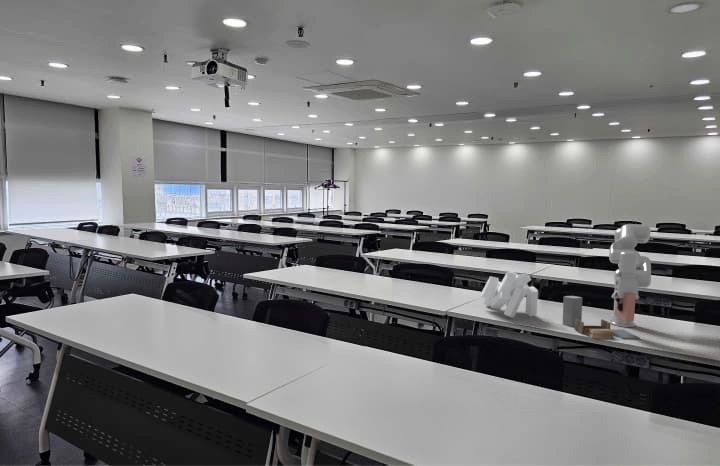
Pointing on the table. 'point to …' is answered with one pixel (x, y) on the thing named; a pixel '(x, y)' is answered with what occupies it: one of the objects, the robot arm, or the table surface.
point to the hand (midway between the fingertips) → (624, 310)
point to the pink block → (626, 307)
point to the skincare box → (572, 310)
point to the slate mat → (623, 334)
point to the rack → (585, 329)
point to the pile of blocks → (511, 293)
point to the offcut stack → (600, 333)
